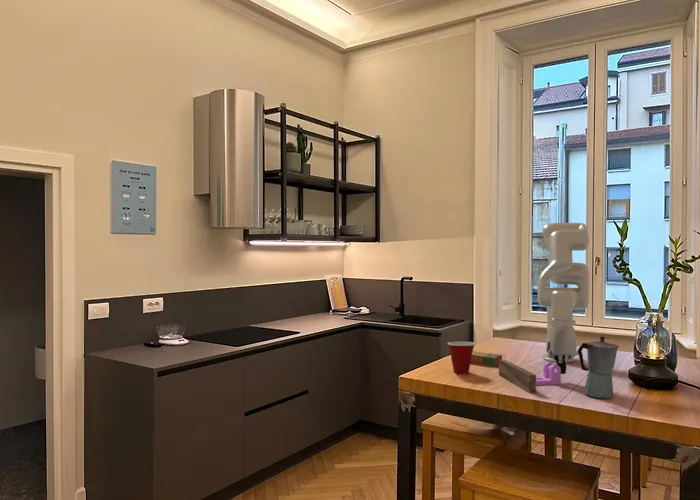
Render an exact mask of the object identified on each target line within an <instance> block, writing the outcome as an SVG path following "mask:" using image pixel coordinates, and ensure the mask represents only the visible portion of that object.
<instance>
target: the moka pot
mask: <svg viewBox="0 0 700 500" xmlns="http://www.w3.org/2000/svg"><path fill="white" fill-rule="evenodd" d="M605 339H606V336H600V340H599V341H589V342H583V343H581V345H580V346H579V348H578V349H577V351H578V354H579V355H578V356H579V357H578V358H579V362H580V365H581V369H582V371H585V372H588V373H587V377H586V381H585V386H584V389H583V390H584V391H583V392H584V394H585V395H586V396H589V397H592V398H597V399H606V400H607V399H613V398H614V388H613V387H614V386H613V375H612V374H613V370H614V369H615V364H616V359H617V353H618V348H620V346H619V345H618V344H614V343H611V342H610V343H609V342H606V341H605ZM583 349H586V351H587V365H588V367H586V366H585V363H584V362H585V361H584V354H583V351H582V350H583Z"/></svg>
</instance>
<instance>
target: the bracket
mask: <svg viewBox="0 0 700 500" xmlns="http://www.w3.org/2000/svg"><path fill="white" fill-rule="evenodd" d="M542 372H543V373H542V374H543V375H542V376H536V386H541V385H543V386H544V385H545V386H547V385H561V384H562V383H561V382H562V381H561V380H562V376H561V375H562V374H561V368H560V367H559V366H558V365H557V363H555V364H554V362H552V361H546V362H545V363H544V364H543V371H542Z"/></svg>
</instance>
